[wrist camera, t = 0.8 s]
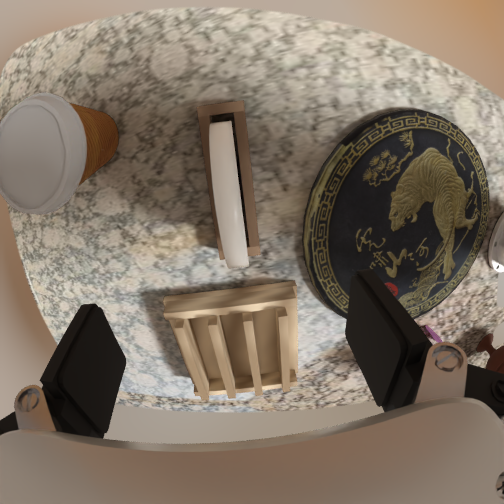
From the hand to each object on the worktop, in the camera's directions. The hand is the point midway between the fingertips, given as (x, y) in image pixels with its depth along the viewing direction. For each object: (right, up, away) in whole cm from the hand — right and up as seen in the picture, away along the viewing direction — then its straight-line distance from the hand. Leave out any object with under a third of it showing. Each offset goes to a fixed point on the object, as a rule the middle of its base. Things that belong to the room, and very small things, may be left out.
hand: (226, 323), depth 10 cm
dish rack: (-1, -9, +28) cm, 29 cm away
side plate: (-1, +7, +13) cm, 15 cm away
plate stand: (-1, +10, +19) cm, 21 cm away
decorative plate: (+21, +6, +23) cm, 32 cm away
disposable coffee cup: (-16, +15, +15) cm, 27 cm away
